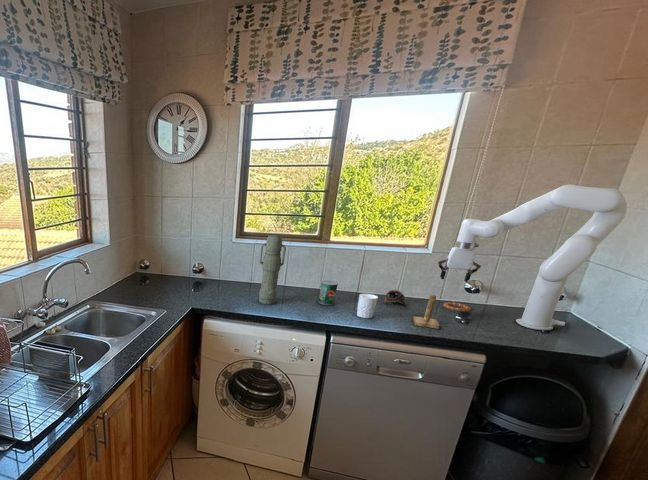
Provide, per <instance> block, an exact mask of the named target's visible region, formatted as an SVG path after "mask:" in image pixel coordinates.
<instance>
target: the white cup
mask: <svg viewBox="0 0 648 480" xmlns="http://www.w3.org/2000/svg"><path fill="white" fill-rule="evenodd" d="M378 300H379V296H378V295H375V294H371V293H360V294H359V295H358V300H357V308H356V316H357V317H358V318H363V319H372V318H373V316H374V313H375V310H376V306H377V303H378Z"/></svg>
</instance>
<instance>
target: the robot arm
mask: <svg viewBox="0 0 648 480" xmlns="http://www.w3.org/2000/svg"><path fill="white" fill-rule="evenodd" d="M565 208H568V209H574V210H581V211H590V212H593V215H592V216H591V217H590V218H589V219H588V220H587V221H586V222H585V223H584V224H583V225H582V226H581V227H580V228H579V229H578V230H577V231H576V232H575V233H574V234H573V235H572V236H570V237H569V238H568V239H566V240H565V241H564V243H563V244H562V245H561V246H560V247H559V248H558V249H557V250H556V251H555V252H553V254H552V255H551V256H550V257H547V258H546V259H544V260H543V261H542V263H541V264H540V266H539V268H538V273H537V276H536V278H535V281H534V284H533V285H532V289H531V291H530V294H529V297H528V299H527V302H526V305H525V308H524V311H523V314H522V316H521V317H520V318H517V319H515V322H516V323H517V324H518V325H519V326H521V327H524V328H528V329H532V330H538V331H552V330H553V329H554V326H559V327H564V326H565V325H566V322H565V321H561V320H559V319H555V318H553V317H554V313H555V312H556V309H557V306H558V304H559V301H560V299H561V296H562V294H563V292H564V289H565V287H566V284H567V281H568V279H569V277H570V276H571V275H572V274H573V273H574V272H576V270H577V269H579V268H580V267H581V266H582V265H583V264H584V263H586V262H587V261H588V260H589V259H590V258H591V257H592V256H593V255H594V254H595V253H596V251H597V249H598V246H599V245H600V244H601V243H602V242H603V241H604V240H605V239H607V237H608V236H609V235H611V234H612V233H613V232H614V231H615V229H617V228H618V226H620V225H621V223H622V222H623V220H624V219H625V217H626V215H627V210H628V203H627V200H626V198H625V196H624V194H623V192H622V191H621V190H619V189H618V188H614V187H613V188H612V187H596V186H595V187H593V186H583V185H577V184H573V183H568V184H564V185H561V186H560V187H557V188H555V189H553V190H549V191H548V192H545V193H544V194H542V195H540V196H538V197H535V198H533V199H531V200H528V201H526V202H525V203H523V204H521V205H519V206H518V207H516V208H514V209H512V210H510V211H508V212H505V213H503V214H501V215H499V216H497V217H495V218H493V219H490V220H481V219H479V218H478V219H477V218H465V219H463V220H462V222H461V225H460V229H459V232H458V235H457V238H456V241H455V245H454V246H452V247H451V249H450V251H449V254H448V255H447V258H445V259H441V260H438V261H437V264H438V267H439V268H440V270H441V273H440V275H439V277H440V278H441V280H445V277H446V273H447V270H449V269H454V270H461V271H463V270H464V271H467V272H466V274H465V276H464V282H465V283H468V281H470V280H471V277H472V275H473V274H475V273H477V272H478V271H479V270H480V269H481V268H482V265H480V264H478V263H477V262H475V261H474V260H475V256H476V249H475V248H479V246H480V244H478V243H477V240H478V239H479V238H478V237H482V238H486V239H491V238H492V239H493V238H495V237H497V236H499V235H500V234H503V233H504V232H507V231H509V230H511V229H514V228H516V227H518V226H521V225H523V224H527V223H531V222H534V221H536V220H539V219H541V218H544V217H546V216H548V215H551V214H553V213H555V212H558V211H560V210H562V209H565ZM444 263H445V265H444V266H443V264H444ZM473 266H475V267H474V268H472V267H473Z"/></svg>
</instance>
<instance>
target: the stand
mask: <svg viewBox="0 0 648 480" xmlns="http://www.w3.org/2000/svg"><path fill="white" fill-rule="evenodd" d="M436 300H437V295H436V294H430V295H429V297H428V302H427V305H426V309H425V312H424V316H423V317H421V316H413V317H412V321H413V324H414V326H416V327H417V326H418V327H424V328H433V329H437V330H438V329H440V323H439V321H438V319H436V318H431V317H432V314H433V310H434V307H435V304H436Z"/></svg>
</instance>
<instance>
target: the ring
mask: <svg viewBox="0 0 648 480" xmlns="http://www.w3.org/2000/svg"><path fill="white" fill-rule="evenodd" d="M442 306H443V307H444V308H446V309H448V310H452V311H458V312H469V311H471V309H472V308H471V307H470V306H469V305H467V304H463V303H458V302H445V303H443V304H442Z"/></svg>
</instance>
